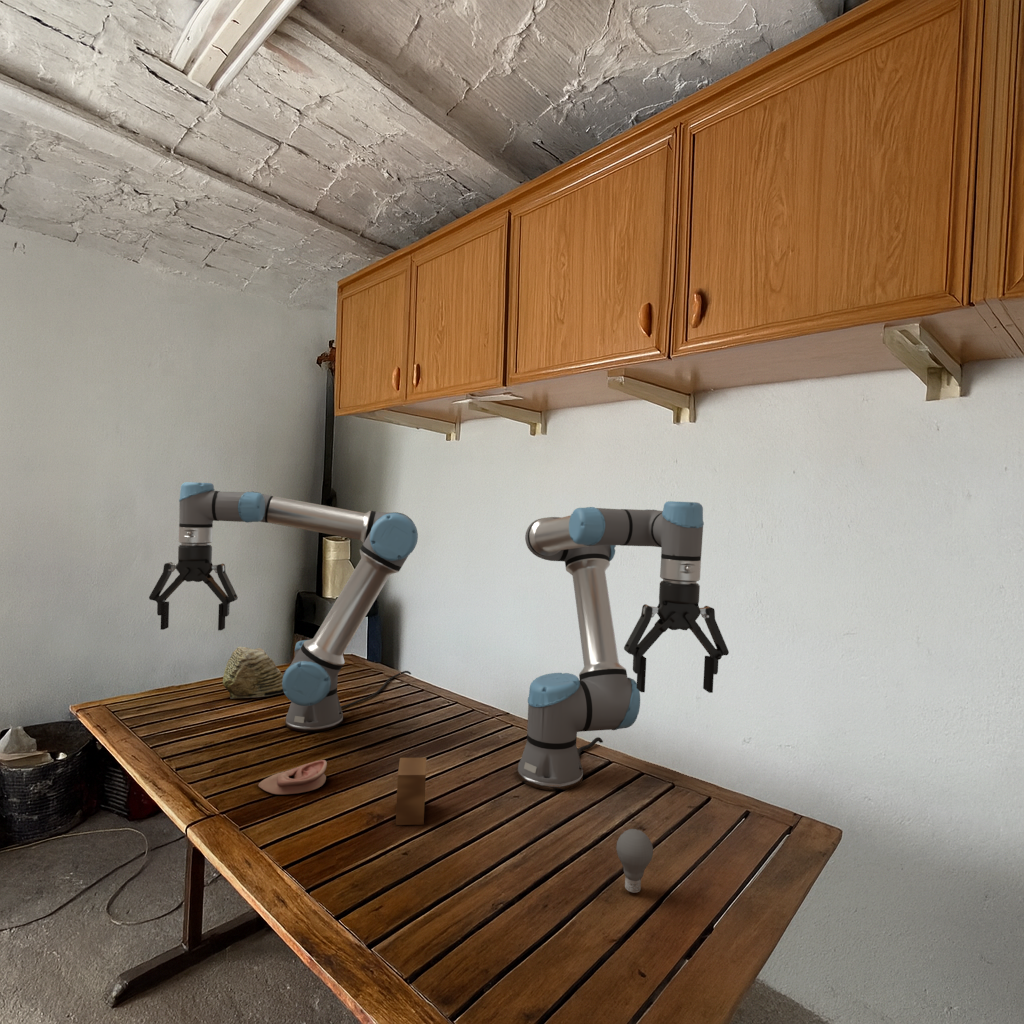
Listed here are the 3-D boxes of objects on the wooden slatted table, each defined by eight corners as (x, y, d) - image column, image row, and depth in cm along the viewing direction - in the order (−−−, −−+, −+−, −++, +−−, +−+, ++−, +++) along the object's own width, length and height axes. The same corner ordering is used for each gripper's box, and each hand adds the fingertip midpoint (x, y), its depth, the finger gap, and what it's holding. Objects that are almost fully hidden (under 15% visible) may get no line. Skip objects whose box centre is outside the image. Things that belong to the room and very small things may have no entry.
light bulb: (610, 879, 108) (613, 822, 108) (644, 879, 109) (647, 822, 109) (619, 902, 102) (622, 840, 102) (655, 901, 103) (658, 840, 103)
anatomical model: (250, 772, 134) (280, 751, 146) (249, 790, 135) (280, 768, 146) (307, 780, 132) (333, 759, 143) (306, 799, 132) (333, 776, 143)
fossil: (218, 695, 195) (220, 647, 195) (278, 685, 208) (279, 640, 207) (228, 703, 189) (230, 653, 188) (289, 692, 201) (290, 645, 201)
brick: (395, 825, 124) (397, 775, 123) (398, 804, 132) (400, 757, 132) (423, 824, 124) (425, 774, 124) (424, 804, 133) (426, 757, 132)
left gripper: (135, 543, 153) (133, 631, 153) (242, 546, 155) (240, 632, 156) (149, 541, 160) (147, 625, 161) (251, 544, 163) (249, 626, 163)
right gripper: (622, 582, 117) (617, 696, 117) (750, 585, 120) (744, 696, 121) (611, 577, 125) (606, 684, 125) (731, 580, 128) (726, 685, 128)
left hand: (193, 629), depth 158 cm, fingers open, 13 cm apart
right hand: (674, 690), depth 123 cm, fingers open, 13 cm apart
